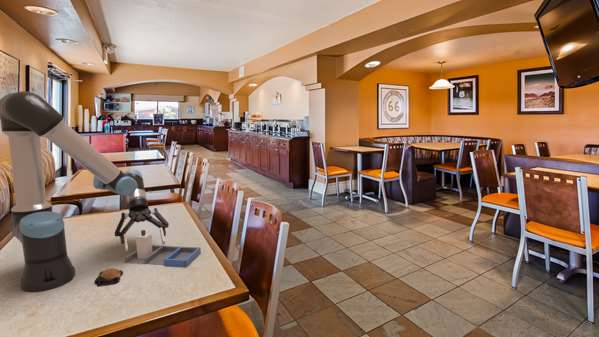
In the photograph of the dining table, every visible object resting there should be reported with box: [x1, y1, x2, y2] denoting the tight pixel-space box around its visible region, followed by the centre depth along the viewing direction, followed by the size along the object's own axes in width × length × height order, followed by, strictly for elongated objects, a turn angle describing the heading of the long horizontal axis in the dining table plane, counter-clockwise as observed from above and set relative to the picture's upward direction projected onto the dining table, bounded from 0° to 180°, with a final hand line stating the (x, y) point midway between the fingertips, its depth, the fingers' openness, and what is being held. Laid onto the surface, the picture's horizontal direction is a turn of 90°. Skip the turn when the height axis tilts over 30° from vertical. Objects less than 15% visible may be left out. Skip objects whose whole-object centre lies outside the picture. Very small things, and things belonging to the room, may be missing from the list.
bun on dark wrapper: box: [94, 267, 124, 288], centre depth 116 cm, size 11×8×4 cm
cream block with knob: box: [135, 229, 153, 259], centre depth 133 cm, size 4×4×11 cm
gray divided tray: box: [124, 244, 202, 268], centre depth 132 cm, size 14×25×3 cm, turn 83°
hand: (145, 246), depth 132 cm, fingers open, 13 cm apart
